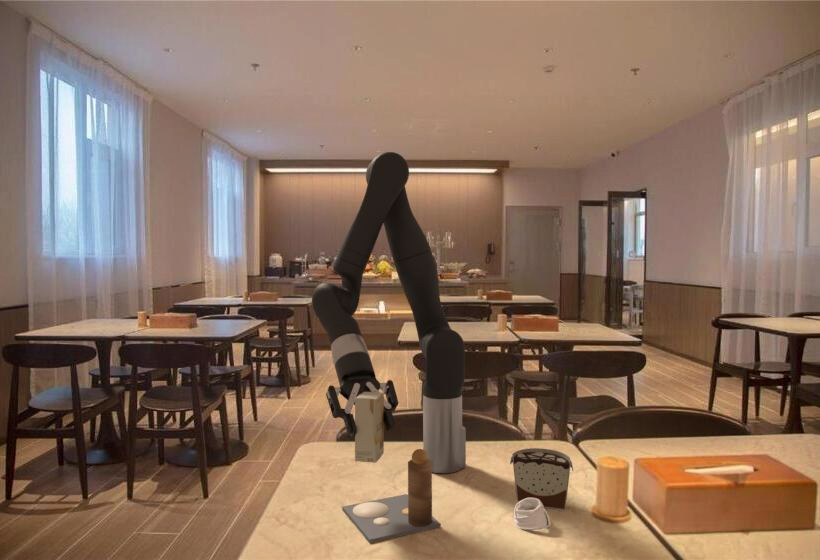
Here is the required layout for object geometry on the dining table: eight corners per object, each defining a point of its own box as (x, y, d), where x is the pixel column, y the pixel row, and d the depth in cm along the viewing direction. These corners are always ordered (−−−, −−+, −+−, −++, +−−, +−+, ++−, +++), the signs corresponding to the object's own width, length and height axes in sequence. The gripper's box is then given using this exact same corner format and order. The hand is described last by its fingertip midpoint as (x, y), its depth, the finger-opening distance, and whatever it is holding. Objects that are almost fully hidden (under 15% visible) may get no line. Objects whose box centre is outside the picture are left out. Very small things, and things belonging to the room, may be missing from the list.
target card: (406, 496, 120) (406, 493, 120) (440, 526, 106) (440, 523, 106) (342, 509, 114) (342, 506, 114) (369, 543, 100) (369, 539, 100)
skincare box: (376, 464, 108) (376, 399, 108) (354, 462, 109) (353, 398, 109) (384, 452, 114) (384, 391, 114) (363, 451, 115) (363, 390, 115)
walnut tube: (425, 514, 110) (425, 444, 110) (436, 523, 106) (435, 451, 106) (404, 518, 108) (404, 447, 108) (414, 528, 104) (414, 454, 104)
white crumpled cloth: (556, 537, 104) (560, 512, 103) (521, 537, 103) (524, 511, 102) (540, 515, 112) (543, 491, 111) (506, 514, 111) (509, 490, 110)
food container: (575, 499, 118) (575, 450, 118) (573, 511, 112) (573, 460, 112) (514, 491, 122) (514, 444, 122) (509, 503, 116) (509, 454, 116)
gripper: (322, 352, 115) (341, 426, 105) (388, 347, 121) (412, 417, 111) (315, 374, 120) (332, 446, 110) (379, 368, 126) (401, 436, 116)
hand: (372, 431), depth 110 cm, fingers closed on skincare box, 7 cm apart
